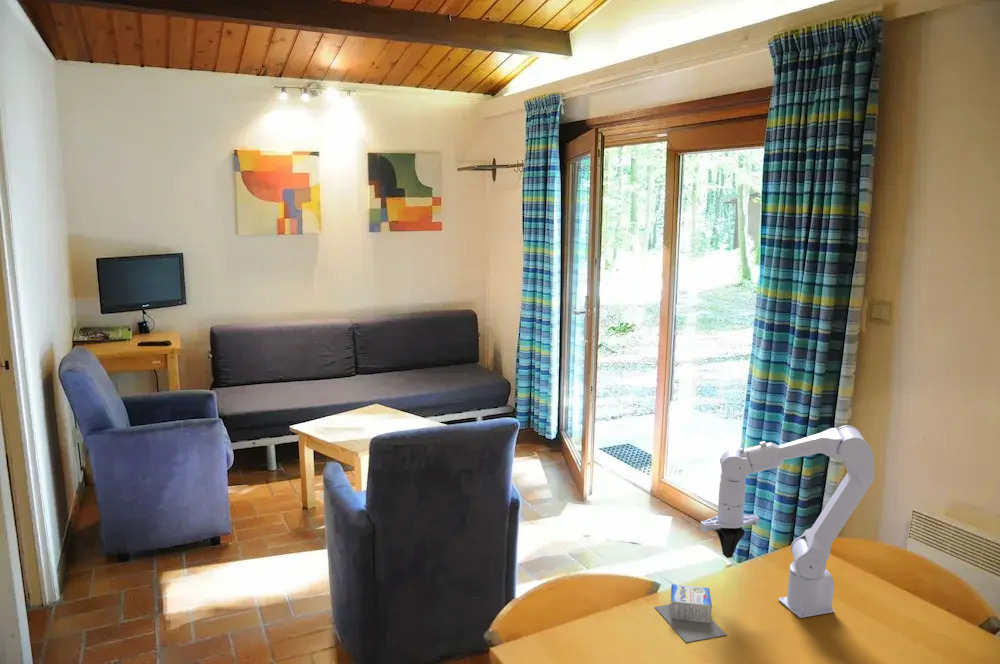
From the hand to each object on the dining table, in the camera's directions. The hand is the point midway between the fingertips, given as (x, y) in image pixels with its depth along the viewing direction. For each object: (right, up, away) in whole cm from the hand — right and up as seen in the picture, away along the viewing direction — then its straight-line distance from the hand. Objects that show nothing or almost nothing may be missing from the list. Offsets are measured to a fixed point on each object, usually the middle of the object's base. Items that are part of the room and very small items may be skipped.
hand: (727, 555), depth 173 cm
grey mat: (-11, -12, -8) cm, 18 cm away
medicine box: (-6, -9, -6) cm, 13 cm away
